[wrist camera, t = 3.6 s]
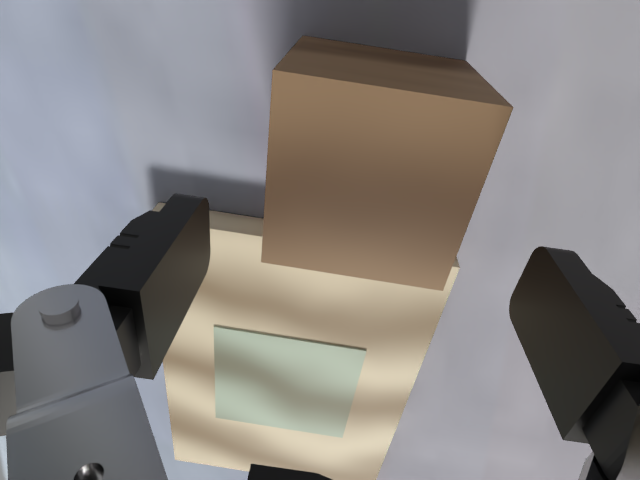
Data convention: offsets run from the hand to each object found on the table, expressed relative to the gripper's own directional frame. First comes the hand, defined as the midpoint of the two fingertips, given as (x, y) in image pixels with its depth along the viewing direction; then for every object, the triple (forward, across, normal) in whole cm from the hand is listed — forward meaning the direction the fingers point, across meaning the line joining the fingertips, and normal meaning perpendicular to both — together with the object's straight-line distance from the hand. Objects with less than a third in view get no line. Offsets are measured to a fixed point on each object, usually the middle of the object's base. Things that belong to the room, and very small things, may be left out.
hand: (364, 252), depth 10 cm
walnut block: (+8, 0, -1) cm, 8 cm away
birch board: (+8, +2, +14) cm, 17 cm away
